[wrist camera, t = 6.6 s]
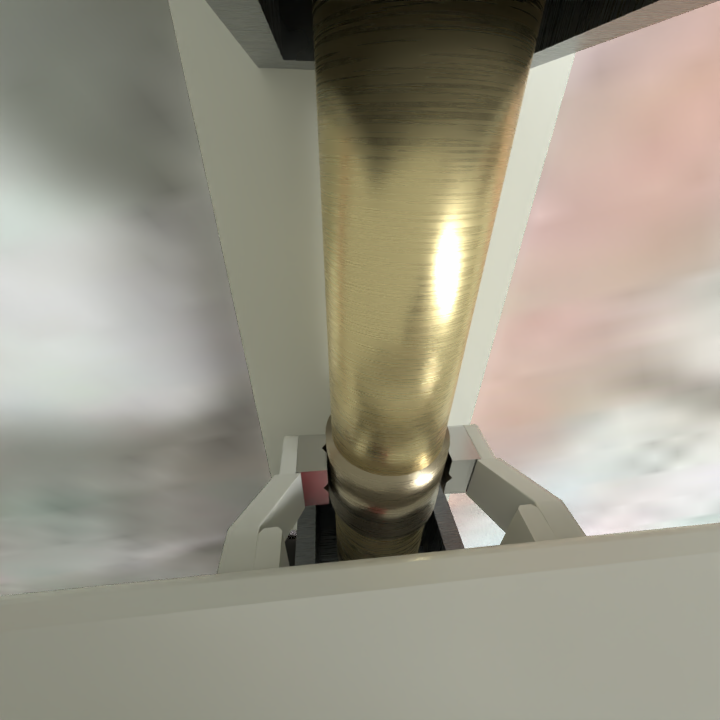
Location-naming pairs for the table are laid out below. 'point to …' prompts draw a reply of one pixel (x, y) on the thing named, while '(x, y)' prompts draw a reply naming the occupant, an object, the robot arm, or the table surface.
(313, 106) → the base
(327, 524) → the socket
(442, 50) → the tube
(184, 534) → the table surface
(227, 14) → the grey tapered slab
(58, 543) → the table surface
